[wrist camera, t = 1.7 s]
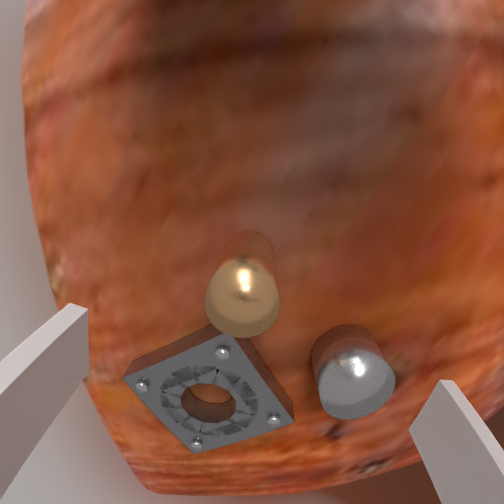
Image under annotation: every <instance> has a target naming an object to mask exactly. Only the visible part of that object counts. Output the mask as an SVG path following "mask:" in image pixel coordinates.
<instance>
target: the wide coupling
mask: <svg viewBox="0 0 504 504" xmlns="http://www.w3.org/2000/svg"><path fill="white" fill-rule="evenodd" d="M311 362H312V366H313V370H314V375H315V379H316V383H317V388H318V392H319V396H320V401H321V404H322V407H323V409H324V410H325V411H326V412H327V413H328V414H329V415H331V416H333V417H336V418H339V419H356V418H361V417H364V416H367V415H369V414H371V413H373V412H375V411H376V410H378V409H379V408H380V407H382V406H383V405H384V404H385V403H386V402H387V400H388V399H389V398H390V396H391V395H392V393H393V390H394V387H395V375H394V373H393V371H392V369H391V367H390V366H389V364H388V362H387V360H386V359H385V357H384V355H383V354H382V352H381V350H380V349H379V347H378V345H377V344H376V342H375V340H374V339H373V337H372V335H371V334H370V333H369V332H368V331H367V330H366V329H364V328H362V327H360V326H357V325H342V326H338V327H335V328H333V329H331V330H329V331H327V332H326V333H324V334H323V335H322V336H321V337H320V338H319V339H318V340H317V342H316V343H315V345H314V347H313V350H312V354H311Z"/></svg>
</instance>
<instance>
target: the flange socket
mask: <svg viewBox="0 0 504 504" xmlns="http://www.w3.org/2000/svg"><path fill="white" fill-rule="evenodd" d="M123 379H124V381H125V382H126V383H127V384H128V385H129V387H130V388H131V389H132V390H133V391H134V392H135V394H136V395H137V396H138V397H139V398H140V399H141V400H142V401H143V403H144V404H145V405H146V406H147V407H148V408H149V409H150V410H151V411H152V412H153V413H154V415H155V416H156V417H157V418H158V419H159V420H160V421H161V422H162V423H163V424H164V425H165V426H166V427H167V428H168V429H169V430H170V431H171V432H172V433H173V434H174V435H175V436H176V437H177V438H178V439H179V440H180V441H181V442H182V443H183V444H184V445H185V446H186V447H187V448H188V449H189V450H190V451H191V452H192V453H194V454H196V453H200V452H204V451H208V450H211V449H215V448H219V447H222V446H226V445H229V444H232V443H236V442H239V441H242V440H245V439H248V438H252V437H255V436H258V435H261V434H263V433H266V432H269V431H272V430H275V429H278V428H280V427H283V426H286V425H288V424H291V423H294V422H295V421H294V412H293V403H292V401H291V400H290V399H289V397H288V396H287V394H286V393H285V391H284V390H283V389H282V387H281V386H280V384H279V383H278V382H277V380H276V379H275V377H274V376H273V374H272V373H271V371H270V370H269V369H268V367H267V366H266V364H265V363H264V361H263V360H262V358H261V357H260V355H259V354H258V353H257V351H256V350H255V348H254V347H253V345H252V344H251V342H250V341H249V339H248V338H238V337H233V336H229V335H227V334H225V333H223V332H221V331H220V330H218V329H217V328H216V327H215V326H214V325H213V324H212V325H209V326H207V327H205V328H203V329H201V330H199V331H197V332H195V333H193V334H191V335H189V336H186V337H184V338H182V339H180V340H178V341H176V342H174V343H172V344H169V345H167V346H165V347H163V348H161V349H159V350H156V351H154V352H152V353H150V354H148V355H145V356H143V357H141V358H139V359H137V360H134V361H132V363H131V365H130V366H129V368H128V370H127V371H126V373H125V374H124V376H123ZM197 383H204V384H215V385H217V386H219V387H221V388H223V389H225V390H227V391H228V392H229V393H230V394H231V395H232V397H233V399H232V400H230V401H227V402H225V403H222V404H211V403H206V402H203V401H201V400H199V399H197V398H195V397H194V396H193V394H192V393H191V392H190V391H189V390H188V388H187V387H190V386H192V385H195V384H197Z"/></svg>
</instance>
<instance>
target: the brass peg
mask: <svg viewBox="0 0 504 504" xmlns="http://www.w3.org/2000/svg"><path fill="white" fill-rule="evenodd" d="M204 306H205V311H206V314H207V317H208V318H209V320H210V322H211V323H212V324H213V325H214V326H215V327H216V328H217V329H218V330H220V331H221V332H223V333H225V334H227V335H229V336H233V337H238V338H248V337H253V336H257V335H259V334H261V333H263V332H265V331H266V330H268V329H269V328H270V327H271V326H272V325H273V323H274V322H275V320H276V319H277V316H278V313H279V309H280V299H279V292H278V284H277V276H276V269H275V261H274V254H273V248H272V245H271V243H270V242H269V240H268V239H267V238H266V237H265V236H264V235H262V234H260V233H258V232H255V231H242V232H239V233H237V234H235V235H234V236H233V237H232V238H231V239H230V240H229V241H228V243H227V245H226V247H225V249H224V252H223V254H222V256H221V258H220V261H219V263H218V265H217V268H216V270H215V272H214V274H213V277H212V279H211V281H210V284H209V286H208V288H207V291H206V294H205V298H204Z"/></svg>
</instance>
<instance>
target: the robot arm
mask: <svg viewBox="0 0 504 504" xmlns="http://www.w3.org/2000/svg"><path fill="white" fill-rule="evenodd" d="M89 371H90V369H89V346H88V309H86V308H84V307H81V306H78V305H75V304H72V303H69V304H68V305H67V306H65V307H64V308H63V309H62V310H60V311H59V312H58V313H57V314H55V315H54V316H53V317H52V318H51V319H49V320H48V321H47V322H46V323H45V324H43V325H42V326H41V327H40V328H39V329H37V330H36V331H35V332H34V333H33V334H31V335H30V336H29V337H28V338H27V339H26V340H25V341H23V342H22V343H21V344H20V345H19V346H18V347H16V348H15V349H14V350H13V351H12V352H11V353H9V354H8V355H7V356H6V357H5V358H4V359H3V360H2V361H1V362H0V499H1V498H2V496H3V495H4V493H5V492H6V490H7V489H8V487H9V485H10V484H11V482H12V481H13V479H14V478H15V476H16V475H17V473H18V471H19V470H20V468H21V467H22V465H23V464H24V462H25V461H26V459H27V457H28V456H29V455H30V453H31V452H32V451H33V449H34V447H35V446H36V444H37V443H38V442H39V440H40V439H41V437H42V436H43V434H44V433H45V432H46V430H47V429H48V427H49V426H50V424H51V423H52V422H53V420H54V419H55V418H56V416H57V415H58V413H59V412H60V410H61V409H62V408H63V406H64V405H65V403H66V402H67V401H68V399H69V398H70V397H71V395H72V394H73V392H74V391H75V390H76V389H77V387H78V386H79V385H80V383H81V382H82V381H83V379H84V378H85V377H86V375H87V374H88V373H89ZM408 430H409V432H410V434H411V436H412V438H413V441H414V443H415V445H416V447H417V449H418V451H419V453H420V456H421V458H422V460H423V462H424V464H425V466H426V469H427V471H428V473H429V475H430V478H431V480H432V482H433V484H434V487H435V489H436V491H437V493H438V496H439V498H440V501H441V503H442V504H504V450H503V449H502V448H501V446H500V445H499V443H498V442H497V440H496V439H495V438H494V436H493V435H492V434H491V432H490V430H489V429H488V427H487V426H486V425H485V423H484V422H483V420H482V419H481V418H480V416H479V415H478V413H477V412H476V411H475V409H474V408H473V407H472V405H471V404H470V403H469V401H468V400H467V399H466V397H465V396H464V395H463V393H462V392H461V391H460V389H459V388H458V387H457V385H456V384H455V383H454V381H453V380H439V382H438V383H437V385H436V387H435V388H434V390H433V392H432V394H431V395H430V397H429V398H428V400H427V402H426V403H425V405H424V406H423V408H422V410H421V411H420V413H419V414H418V416H417V417H416V419H415V420H414V422H413V423H412V425H411V426H410V428H409V429H408Z"/></svg>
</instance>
